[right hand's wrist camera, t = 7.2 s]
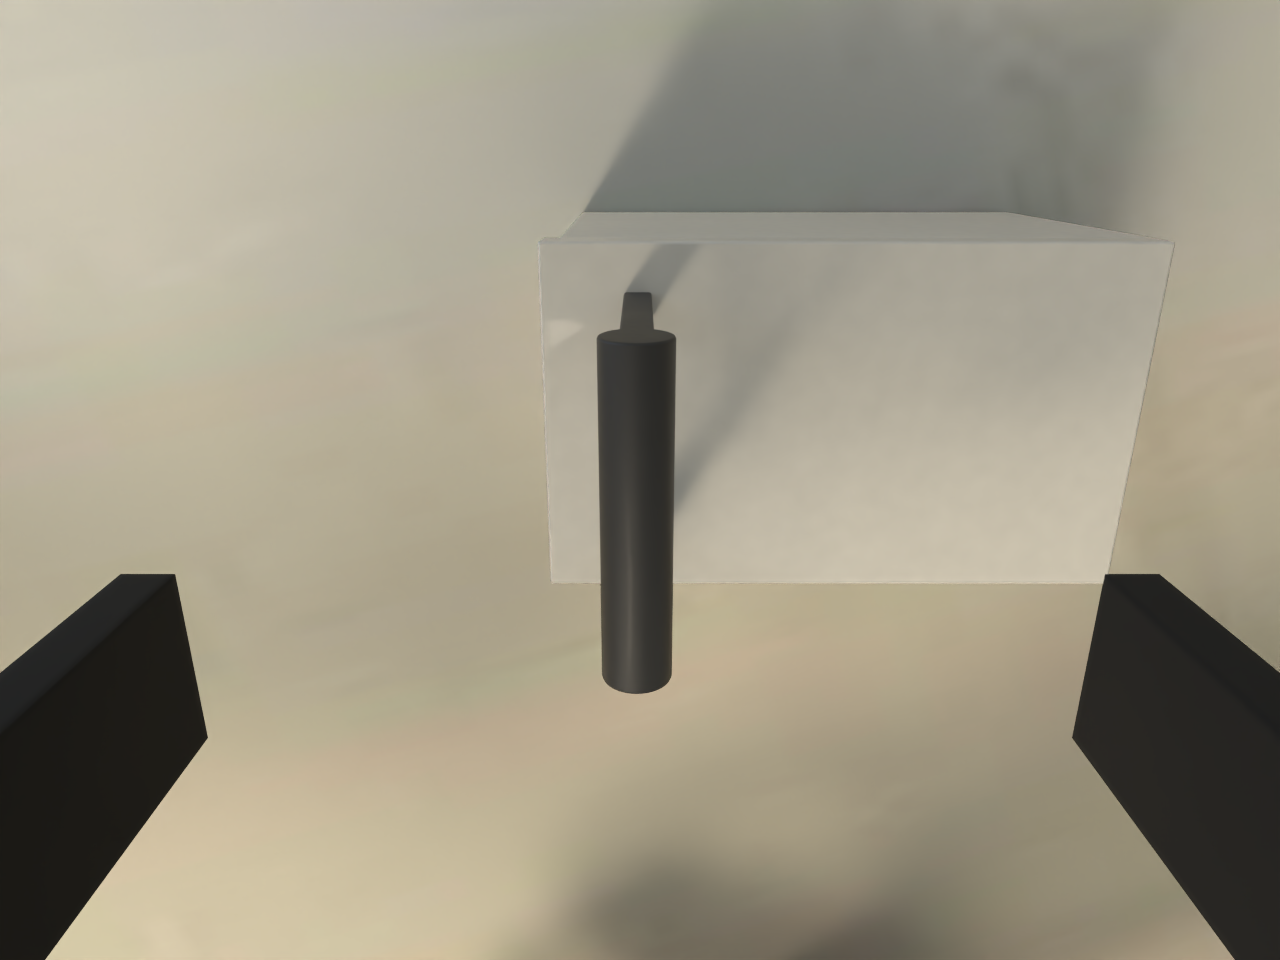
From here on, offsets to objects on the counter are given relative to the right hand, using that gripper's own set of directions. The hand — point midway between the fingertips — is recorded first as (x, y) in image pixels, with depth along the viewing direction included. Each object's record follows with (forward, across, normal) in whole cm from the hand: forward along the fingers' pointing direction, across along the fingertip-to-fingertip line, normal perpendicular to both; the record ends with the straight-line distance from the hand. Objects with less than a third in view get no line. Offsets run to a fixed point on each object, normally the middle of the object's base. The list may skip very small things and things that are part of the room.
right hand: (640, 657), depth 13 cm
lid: (+13, -5, 0) cm, 14 cm away
